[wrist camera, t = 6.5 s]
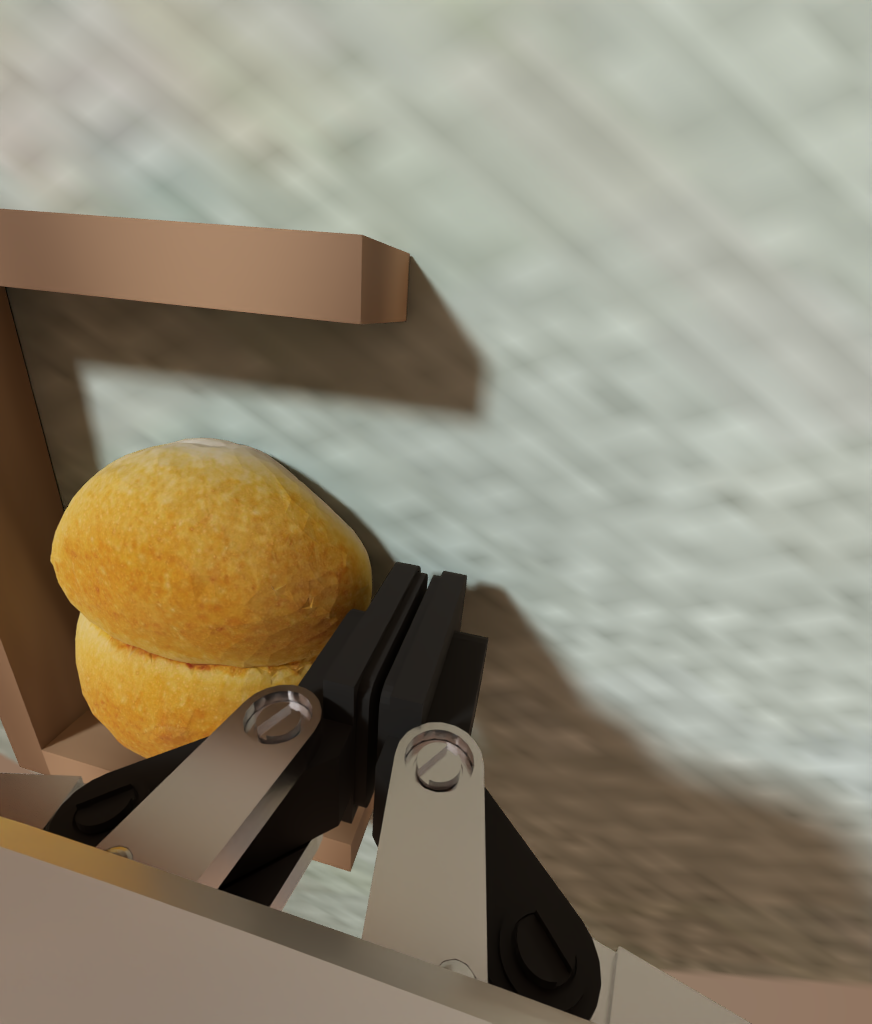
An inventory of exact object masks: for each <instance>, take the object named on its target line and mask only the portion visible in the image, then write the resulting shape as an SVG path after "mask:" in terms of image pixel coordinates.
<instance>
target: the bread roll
mask: <svg viewBox="0 0 872 1024" xmlns="http://www.w3.org/2000/svg"><path fill="white" fill-rule="evenodd" d="M51 563H52V564H53V566H54V570H55V573H56V577H57V580H58V583H59V585H60V586H61V588H62V590H63V591H64V593H65V595H66V596H67V598H68V600H69V601H70V603H71V604H72V605H73V606H75V607H76V608H77V609H78V610H79V611H80V615H79V619H78V623H77V629H76V638H75V649H76V665H77V670H78V674H79V679H80V684H81V689H82V694H83V696H84V698H85V699H86V701H87V703H88V705H89V707H90V710H91V712H92V714H93V715H94V716H95V717H96V718H97V719H98V720H99V721H100V722H101V723H102V724H103V725H104V726H105V727H106V728H107V729H108V730H109V731H110V732H111V733H112V735H113V736H114V737H115V738H116V740H117V741H118V742H119V743H120V744H122V745H123V746H124V747H126V748H127V749H129V750H131V751H133V752H135V753H137V754H139V755H141V756H143V757H145V758H150V757H153V756H155V755H158V754H161V753H164V752H166V751H169V750H172V749H175V748H178V747H180V746H183V745H186V744H189V743H191V742H194V741H197V740H200V739H202V738H205V737H208V736H210V735H211V734H212V733H213V732H214V731H215V730H216V729H217V728H218V727H219V726H220V725H221V724H222V723H223V722H224V721H225V720H226V719H227V718H228V717H229V716H230V715H231V714H232V713H233V712H234V711H235V710H236V709H237V708H238V707H240V706H241V705H242V704H243V703H244V702H245V701H246V700H247V699H249V698H250V697H251V696H252V695H254V694H255V693H257V692H259V691H261V690H264V689H266V688H269V687H273V686H277V685H296V686H298V685H299V683H300V682H301V680H302V679H303V677H304V676H305V674H306V673H307V671H308V670H309V669H310V667H311V666H312V664H313V663H314V661H315V660H316V658H317V657H318V655H319V654H320V652H321V651H322V650H323V648H324V647H325V645H326V644H327V642H328V641H329V639H330V638H331V636H332V635H333V633H334V632H335V630H336V629H337V628H338V626H339V625H340V623H341V622H342V620H343V619H344V617H345V616H346V614H347V613H348V612H349V611H350V610H351V609H357V610H362V611H366V610H367V608H368V607H369V605H370V603H371V597H372V571H371V565H370V560H369V556H368V553H367V551H366V549H365V547H364V545H363V544H362V542H361V540H360V539H359V538H358V536H357V535H356V533H355V532H354V531H353V530H352V529H351V528H350V527H349V526H348V525H347V524H346V523H345V522H344V521H343V520H342V519H341V518H340V517H339V516H338V515H337V514H336V513H335V512H334V511H333V510H332V509H331V508H330V507H329V506H328V505H327V504H326V503H325V502H324V501H322V500H321V499H320V498H319V497H318V496H317V495H316V494H315V493H313V492H312V491H311V490H310V489H309V488H308V487H307V486H306V485H305V484H304V483H302V482H301V481H299V480H298V479H297V478H296V477H295V476H294V475H293V474H292V473H291V472H290V471H288V470H287V469H286V468H285V467H284V466H282V465H281V464H280V463H278V462H277V461H275V460H274V459H273V458H271V457H270V456H269V455H267V454H265V453H263V452H262V451H260V450H257V449H254V448H252V447H249V446H246V445H240V444H236V443H233V442H230V441H225V440H220V439H214V438H192V439H183V440H180V441H176V442H173V443H169V444H164V445H159V446H154V447H149V448H146V449H143V450H140V451H137V452H134V453H131V454H128V455H125V456H123V457H121V458H119V459H117V460H115V461H114V462H112V463H110V464H109V465H107V466H106V467H105V468H103V469H102V470H100V471H99V472H98V473H97V474H95V475H94V476H93V477H92V478H91V479H90V480H89V481H88V482H86V483H85V484H84V485H83V487H82V488H81V489H80V490H79V491H78V492H77V494H76V495H75V496H74V497H73V499H72V500H71V502H70V504H69V505H68V507H67V509H66V510H65V512H64V514H63V516H62V518H61V521H60V523H59V525H58V527H57V529H56V531H55V535H54V539H53V543H52V553H51Z"/></svg>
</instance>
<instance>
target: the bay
mask: <svg viewBox="0 0 872 1024" xmlns="http://www.w3.org/2000/svg"><path fill="white" fill-rule="evenodd" d="M409 258H410V254H409V253H407V252H404V251H401V250H399V249H396V248H394V247H391V246H389V245H386V244H384V243H381V242H379V241H376V240H374V239H371V238H369V237H366V236H364V235H357V234H343V233H329V232H315V231H301V230H287V229H273V228H259V227H246V226H232V225H218V224H204V223H190V222H176V221H162V220H148V219H135V218H121V217H107V216H93V215H79V214H65V213H51V212H37V211H24V210H10V209H0V719H1V721H2V724H3V726H4V728H5V731H6V733H7V736H8V738H9V741H10V743H11V746H12V748H13V751H14V753H15V756H16V758H17V761H18V763H19V766H20V767H22V768H25V769H29V770H32V771H35V772H38V773H41V774H44V775H66V776H81V777H82V780H83V783H88V782H90V781H91V780H93V779H96V778H98V777H100V776H102V775H104V774H106V773H109V772H111V771H114V770H117V769H120V768H122V767H125V766H128V765H131V764H133V763H136V762H139V761H142V760H144V759H147V758H145V757H143V756H141V755H139V754H137V753H135V752H133V751H131V750H129V749H127V748H126V747H124V746H123V745H122V744H120V743H119V742H118V741H117V740H116V738H115V737H114V736H113V735H112V733H111V732H110V731H109V730H108V729H107V728H106V727H105V726H104V725H103V724H102V723H101V722H100V721H99V720H98V719H97V718H96V717H95V716H94V715H93V714H92V712H91V710H90V707H89V705H88V703H87V701H86V699H85V698H84V696H83V694H82V689H81V684H80V679H79V674H78V670H77V665H76V649H75V638H76V629H77V623H78V619H79V615H80V611H79V610H78V609H77V608H76V607H75V606H73V605H72V604H71V603H70V601H69V600H68V598H67V596H66V595H65V593H64V591H63V590H62V588H61V586H60V585H59V583H58V580H57V577H56V573H55V570H54V566H53V564H52V563H51V553H52V543H53V539H54V535H55V531H56V529H57V527H58V525H59V523H60V521H61V518H62V516H63V514H64V511H63V507H62V503H61V499H60V496H59V492H58V488H57V484H56V480H55V477H54V473H53V469H52V465H51V461H50V458H49V454H48V450H47V446H46V442H45V439H44V435H43V431H42V427H41V423H40V420H39V416H38V412H37V408H36V404H35V401H34V397H33V393H32V389H31V386H30V382H29V378H28V374H27V370H26V367H25V363H24V359H23V355H22V351H21V348H20V344H19V340H18V336H17V332H16V329H15V325H14V321H13V317H12V313H11V310H10V306H9V302H8V298H7V294H6V291H5V287H14V288H23V289H32V290H42V291H51V292H61V293H70V294H79V295H89V296H98V297H108V298H117V299H126V300H136V301H145V302H155V303H164V304H173V305H183V306H192V307H202V308H211V309H220V310H230V311H239V312H249V313H258V314H267V315H277V316H286V317H295V318H305V319H314V320H324V321H333V322H342V323H352V324H373V323H387V322H401V321H406V312H407V294H408V276H409ZM374 791H375V790H374ZM373 808H374V793H373V796H372V798H371V801H370V803H369V805H368V807H367V808H364V807H361V806H358V809H357V811H356V814H355V816H354V819H353V822H352V824H350V823H347V822H343V821H341V822H340V824H339V826H337V827H335V828H333V829H332V830H330V831H328V832H326V833H324V834H323V839H322V841H321V844H320V846H319V848H318V850H317V852H316V854H315V855H314V857H313V859H312V860H315V861H318V862H321V863H325V864H328V865H331V866H334V867H337V868H340V869H344V870H347V871H350V872H351V869H352V866H353V863H354V861H355V858H356V855H357V852H358V849H359V847H360V844H361V841H362V838H363V836H364V833H365V830H366V827H367V825H368V822H369V819H370V816H371V813H372V811H373Z"/></svg>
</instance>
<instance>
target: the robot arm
mask: <svg viewBox="0 0 872 1024" xmlns="http://www.w3.org/2000/svg"><path fill="white" fill-rule="evenodd" d="M427 581H428V575H427V574H425V573H421V568H420V566H416V565H411V564H406V563H401V562H397V563H396V564H395V565H394V567H393V568H392V570H391V572H390V573H389V575H388V576H387V578H386V580H385V581H384V583H383V584H382V586H381V588H380V589H379V591H378V592H377V594H376V596H375V597H374V599H373V600H372V602H371V603H370V605H369V607H368V608H367V610H366V611H362V610H357V609H351V610H350V611H349V612H348V613H347V614H346V616H345V617H344V619H343V620H342V622H341V623H340V625H339V626H338V628H337V629H336V630H335V632H334V633H333V635H332V636H331V638H330V639H329V641H328V642H327V644H326V645H325V647H324V648H323V650H322V651H321V652H320V654H319V655H318V657H317V658H316V660H315V661H314V663H313V664H312V666H311V667H310V669H309V670H308V671H307V673H306V674H305V676H304V677H303V679H302V680H301V682H300V683H299V685H298V686H296V685H277V686H273V687H269V688H266V689H264V690H261V691H259V692H257V693H255V694H254V695H252V696H251V697H250V698H249V699H247V700H246V701H245V702H244V703H243V704H242V705H241V706H240V707H238V708H237V709H236V710H235V711H234V712H233V713H232V714H231V715H230V716H229V717H228V718H227V719H226V720H225V721H224V722H223V723H222V724H221V725H220V726H219V727H218V728H217V729H216V730H215V731H214V732H213V733H212V734H211V735H210V736H208V737H205V738H202V739H200V740H197V741H194V742H191V743H189V744H186V745H183V746H180V747H178V748H175V749H172V750H169V751H166V752H164V753H161V754H158V755H155V756H153V757H150V758H147V759H144V760H142V761H139V762H136V763H133V764H131V765H128V766H125V767H122V768H120V769H117V770H114V771H111V772H109V773H106V774H104V775H102V776H100V777H98V778H96V779H93V780H91V781H90V782H88V783H83V780H82V777H81V776H66V775H43V774H19V773H0V1024H751V1023H750V1022H748V1021H746V1020H745V1019H743V1018H741V1017H740V1016H738V1015H736V1014H734V1013H733V1012H731V1011H729V1010H728V1009H726V1008H724V1007H723V1006H721V1005H719V1004H717V1003H716V1002H714V1001H712V1000H710V999H709V998H707V997H706V996H704V995H702V994H700V993H699V992H697V991H695V990H694V989H692V988H690V987H689V986H687V985H685V984H683V983H682V982H680V981H678V980H677V979H675V978H673V977H672V976H670V975H668V974H666V973H665V972H663V971H661V970H660V969H658V968H656V967H655V966H653V965H651V964H649V963H648V962H646V961H644V960H643V959H641V958H639V957H638V956H636V955H634V954H632V953H631V952H629V951H627V950H626V949H624V948H622V947H620V946H619V947H618V949H617V951H616V952H615V951H613V950H611V949H610V948H608V947H606V946H605V945H603V944H601V943H600V942H598V941H596V940H595V939H593V938H592V937H591V935H590V934H589V932H588V930H587V928H586V927H585V925H584V923H583V921H582V920H581V918H580V917H579V916H578V914H577V913H576V912H575V910H574V909H573V907H572V906H571V905H570V903H569V902H568V901H567V899H566V898H565V896H564V895H563V894H562V892H561V891H560V890H559V888H558V887H557V885H556V884H555V883H554V881H553V880H552V879H551V877H550V876H549V874H548V873H547V872H546V870H545V869H544V868H543V866H542V865H541V863H540V862H539V861H538V859H537V858H536V857H535V855H534V854H533V852H532V851H531V850H530V848H529V847H528V846H527V844H526V843H525V841H524V840H523V839H522V837H521V836H520V835H519V833H518V832H517V830H516V829H515V828H514V826H513V825H512V824H511V822H510V821H509V819H508V818H507V817H506V815H505V814H504V813H503V811H502V810H501V808H500V807H499V806H498V804H497V803H496V802H495V800H494V799H493V797H492V796H491V795H490V793H489V792H488V791H487V789H486V788H485V787H484V762H483V757H482V752H481V750H480V748H479V747H478V745H477V743H476V741H475V740H474V739H473V738H472V737H471V732H472V727H473V722H474V717H475V712H476V706H477V701H478V696H479V691H480V685H481V680H482V674H483V668H484V662H485V656H486V650H487V644H488V638H486V637H481V636H477V635H472V634H468V633H463V632H460V627H461V620H462V612H463V605H464V597H465V589H466V581H467V575H462V574H457V573H452V572H447V571H443V573H442V575H441V576H436V575H434V576H433V577H432V580H431V582H430V584H429V586H428V588H427ZM374 790H375V791H374ZM373 793H374V812H373V833H372V836H373V838H374V840H375V843H376V845H377V847H378V851H377V856H376V862H375V867H374V873H373V878H372V884H371V889H370V895H369V900H368V906H367V911H366V917H365V923H364V928H363V934H362V939H360V938H357V937H354V936H351V935H348V934H346V933H343V932H340V931H337V930H334V929H331V928H328V927H326V926H323V925H320V924H317V923H314V922H311V921H308V920H305V919H302V918H299V917H297V916H294V915H291V914H288V913H285V912H282V909H283V907H284V906H285V904H286V902H287V901H288V899H289V897H290V895H291V894H292V892H293V890H294V889H295V887H296V885H297V884H298V882H299V880H300V879H301V877H302V875H303V874H304V872H305V870H306V869H307V867H308V865H309V864H310V862H311V860H312V859H313V857H314V855H315V854H316V852H317V850H318V848H319V846H320V844H321V841H322V839H323V834H324V833H326V832H328V831H330V830H332V829H333V828H335V827H337V826H339V824H340V822H341V821H343V822H347V823H350V824H352V822H353V819H354V816H355V814H356V811H357V809H358V806H361V807H364V808H367V807H368V805H369V803H370V801H371V798H372V796H373Z"/></svg>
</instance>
